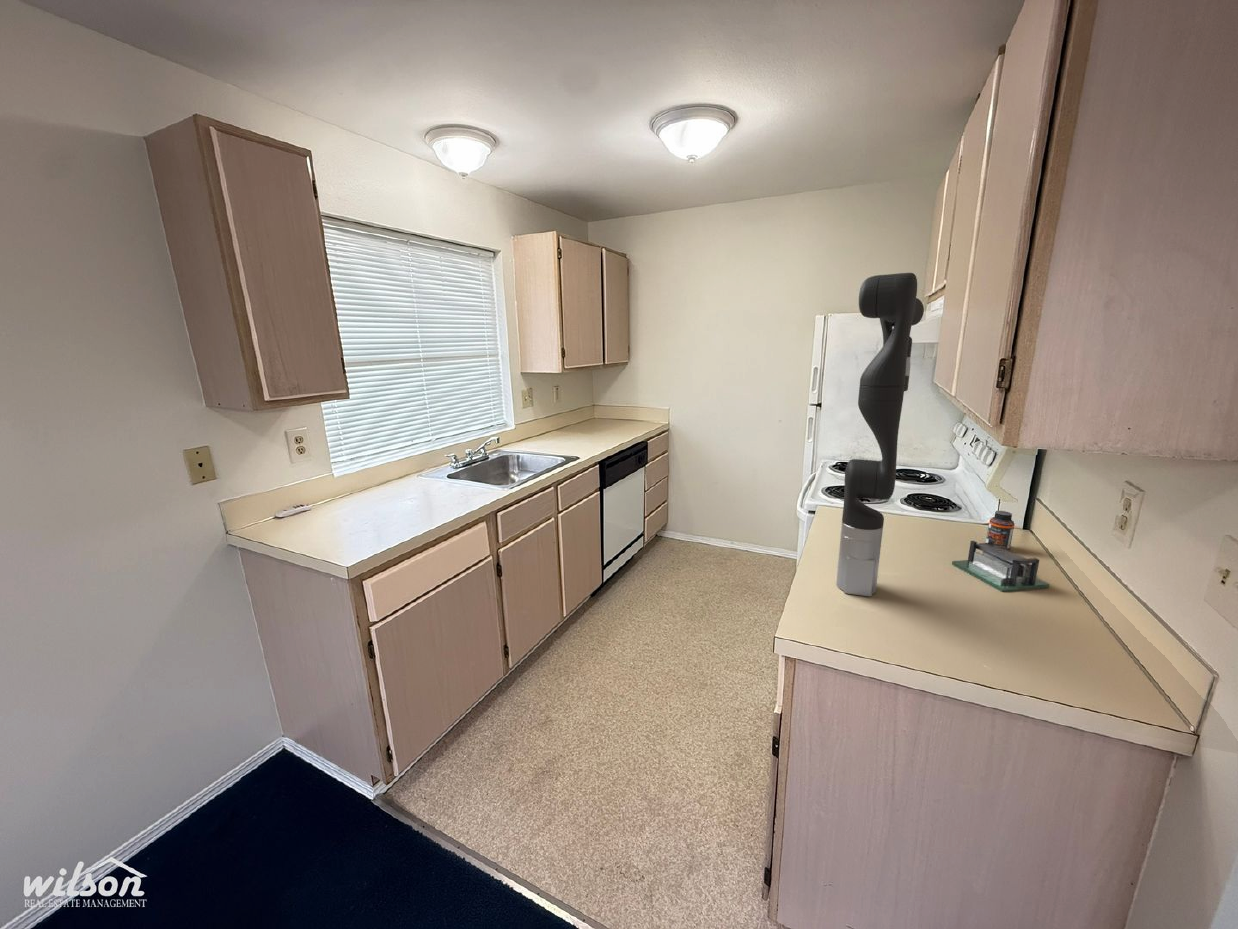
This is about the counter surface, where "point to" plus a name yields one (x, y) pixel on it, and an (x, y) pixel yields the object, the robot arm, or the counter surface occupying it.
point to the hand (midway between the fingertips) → (887, 434)
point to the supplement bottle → (1001, 529)
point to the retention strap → (998, 552)
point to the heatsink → (1001, 570)
